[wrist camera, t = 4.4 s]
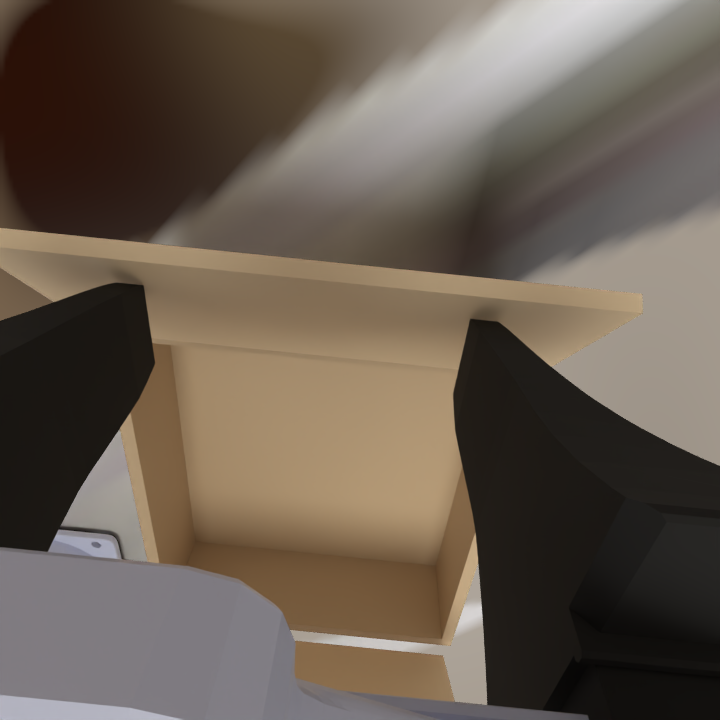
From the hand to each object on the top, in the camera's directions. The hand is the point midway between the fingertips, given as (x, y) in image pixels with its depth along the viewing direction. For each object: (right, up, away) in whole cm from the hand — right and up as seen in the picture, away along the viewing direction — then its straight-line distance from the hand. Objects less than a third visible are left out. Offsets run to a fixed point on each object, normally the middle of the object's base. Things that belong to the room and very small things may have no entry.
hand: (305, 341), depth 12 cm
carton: (0, -4, +13) cm, 13 cm away
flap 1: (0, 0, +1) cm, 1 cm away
